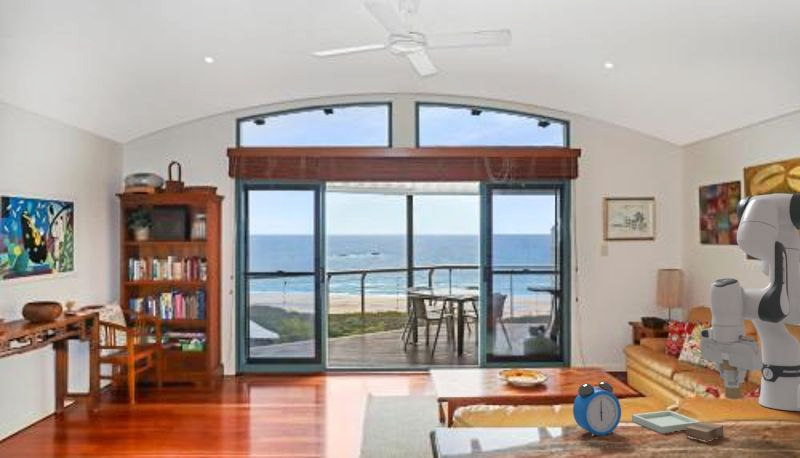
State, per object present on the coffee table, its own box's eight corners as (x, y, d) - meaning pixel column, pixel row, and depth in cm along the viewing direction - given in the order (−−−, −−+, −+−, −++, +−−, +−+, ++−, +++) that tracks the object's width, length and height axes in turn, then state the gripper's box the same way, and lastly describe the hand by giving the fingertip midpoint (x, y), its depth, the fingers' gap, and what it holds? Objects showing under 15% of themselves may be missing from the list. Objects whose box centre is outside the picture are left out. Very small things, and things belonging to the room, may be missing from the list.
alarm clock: (584, 439, 177) (582, 387, 177) (572, 433, 183) (570, 382, 183) (623, 433, 181) (620, 382, 181) (610, 428, 187) (608, 378, 187)
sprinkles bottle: (744, 396, 181) (740, 351, 181) (739, 400, 178) (735, 354, 178) (727, 394, 184) (724, 350, 184) (722, 398, 181) (718, 353, 181)
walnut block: (703, 431, 180) (702, 421, 180) (723, 436, 175) (722, 425, 175) (686, 437, 175) (685, 427, 175) (707, 442, 170) (706, 432, 170)
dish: (669, 416, 197) (669, 410, 197) (701, 428, 183) (701, 421, 183) (632, 421, 193) (631, 414, 193) (661, 433, 180) (661, 426, 180)
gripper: (766, 337, 172) (770, 386, 172) (711, 328, 192) (715, 372, 192) (748, 339, 170) (752, 389, 170) (695, 330, 190) (698, 374, 190)
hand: (732, 380), depth 181 cm, fingers closed on sprinkles bottle, 4 cm apart
